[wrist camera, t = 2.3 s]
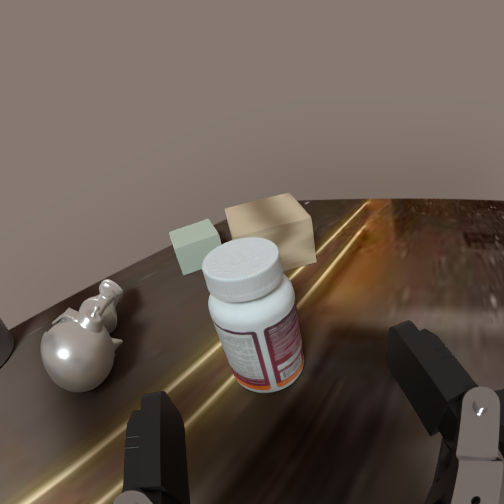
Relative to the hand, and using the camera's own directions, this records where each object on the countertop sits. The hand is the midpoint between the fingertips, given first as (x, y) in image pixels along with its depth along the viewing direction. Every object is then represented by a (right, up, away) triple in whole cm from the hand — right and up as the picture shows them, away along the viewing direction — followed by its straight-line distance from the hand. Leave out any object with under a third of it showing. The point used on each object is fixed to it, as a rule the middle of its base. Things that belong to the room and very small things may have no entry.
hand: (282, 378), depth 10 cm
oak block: (+2, +4, +32) cm, 32 cm away
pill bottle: (0, -6, +16) cm, 17 cm away
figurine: (-17, -7, +21) cm, 28 cm away
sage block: (-8, +3, +35) cm, 36 cm away
